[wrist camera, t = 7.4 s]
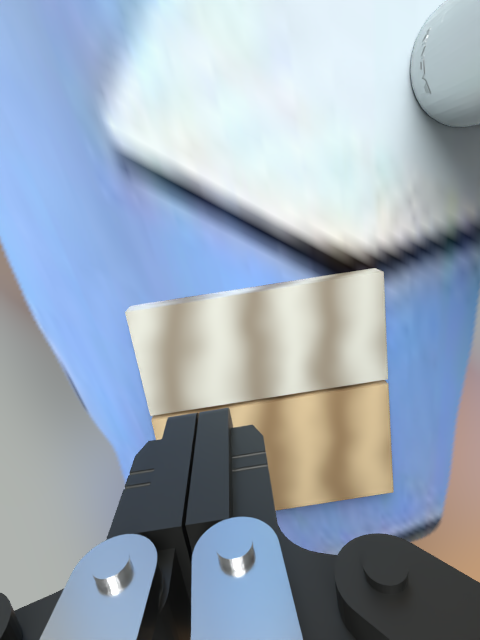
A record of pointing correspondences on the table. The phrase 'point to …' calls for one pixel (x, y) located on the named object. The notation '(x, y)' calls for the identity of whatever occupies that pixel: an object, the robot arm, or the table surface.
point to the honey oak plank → (319, 442)
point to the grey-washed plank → (261, 341)
